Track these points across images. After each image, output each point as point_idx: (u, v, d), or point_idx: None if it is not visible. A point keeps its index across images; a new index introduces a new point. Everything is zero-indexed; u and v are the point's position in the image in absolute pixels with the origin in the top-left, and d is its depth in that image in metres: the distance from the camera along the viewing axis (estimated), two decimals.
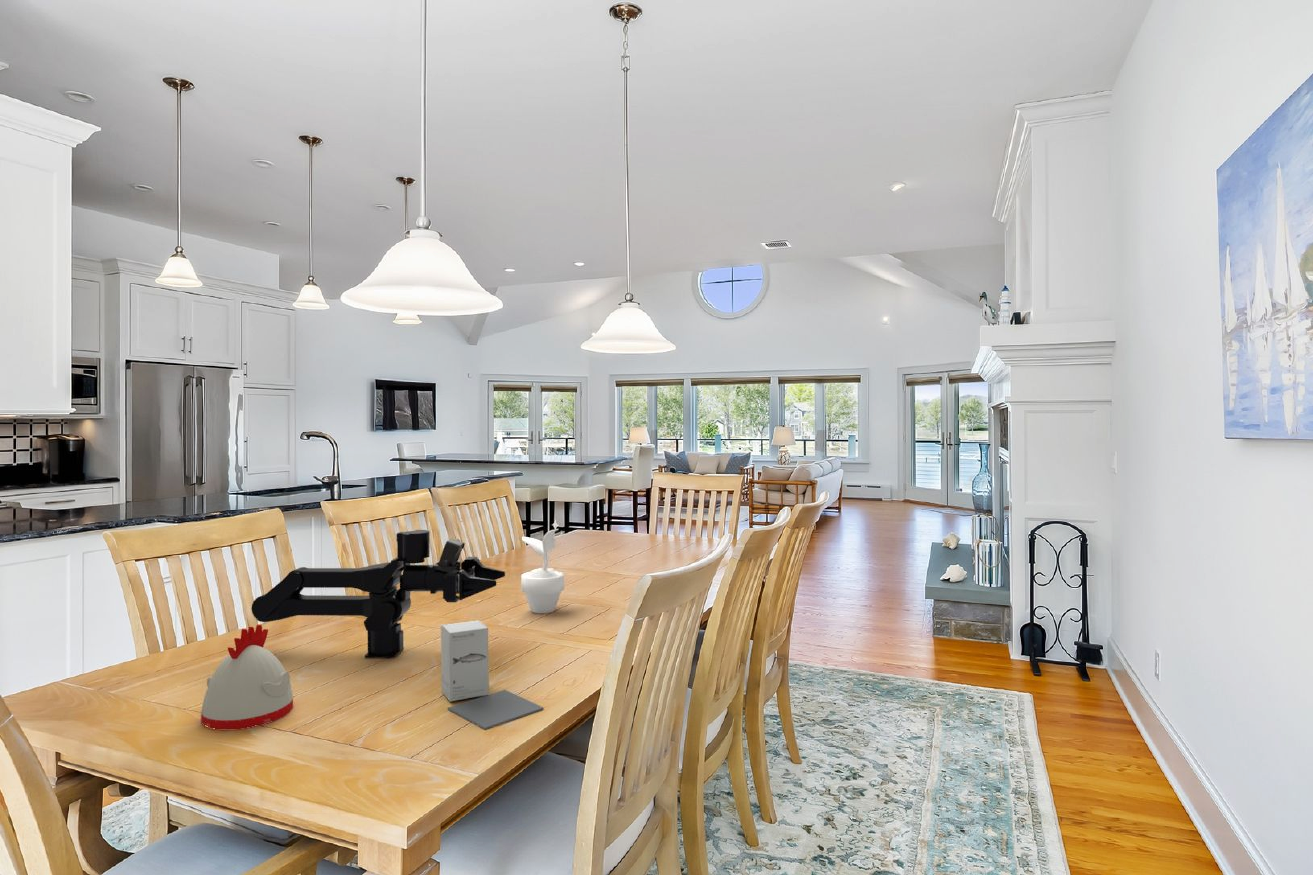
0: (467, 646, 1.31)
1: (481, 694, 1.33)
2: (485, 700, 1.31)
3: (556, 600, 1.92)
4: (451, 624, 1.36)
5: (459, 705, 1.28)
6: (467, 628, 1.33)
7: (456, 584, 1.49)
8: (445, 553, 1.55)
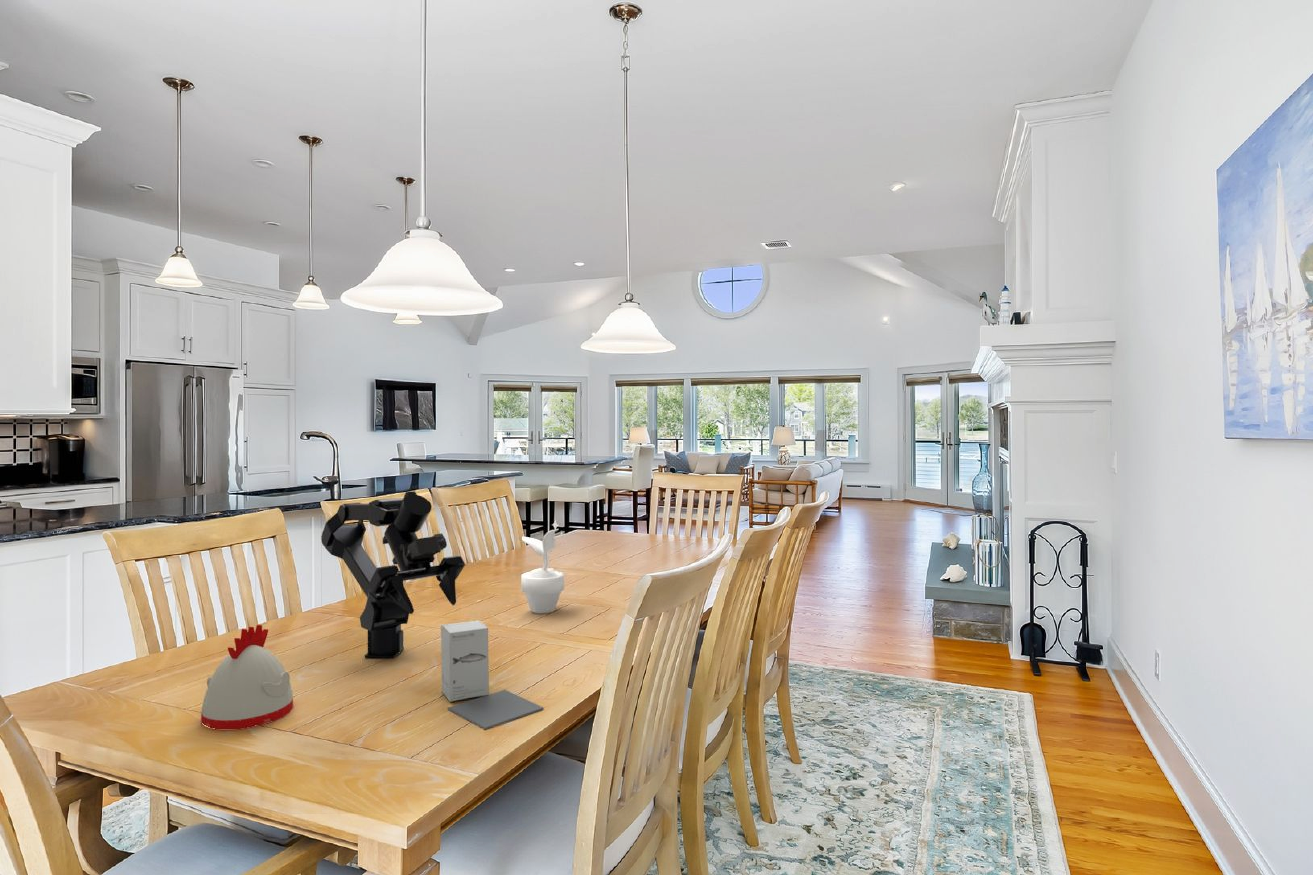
0: (467, 646, 1.31)
1: (481, 694, 1.33)
2: (485, 700, 1.31)
3: (556, 600, 1.92)
4: (451, 624, 1.36)
5: (459, 705, 1.28)
6: (467, 628, 1.33)
7: (380, 583, 1.40)
8: (412, 546, 1.44)
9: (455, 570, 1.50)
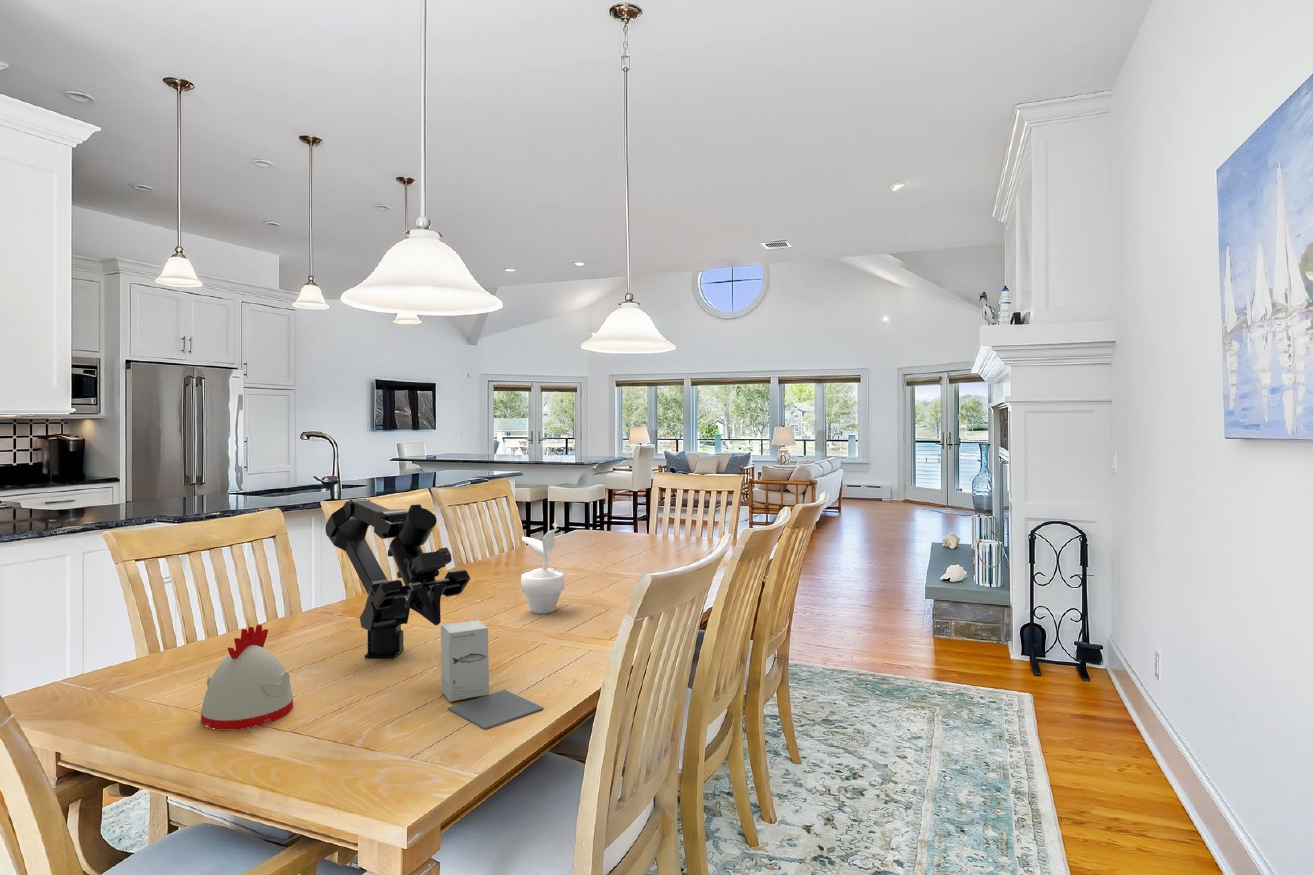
0: (467, 646, 1.31)
1: (481, 694, 1.33)
2: (485, 700, 1.31)
3: (556, 600, 1.92)
4: (451, 624, 1.36)
5: (459, 705, 1.28)
6: (467, 628, 1.33)
7: (384, 598, 1.39)
8: (416, 560, 1.42)
9: (440, 588, 1.45)
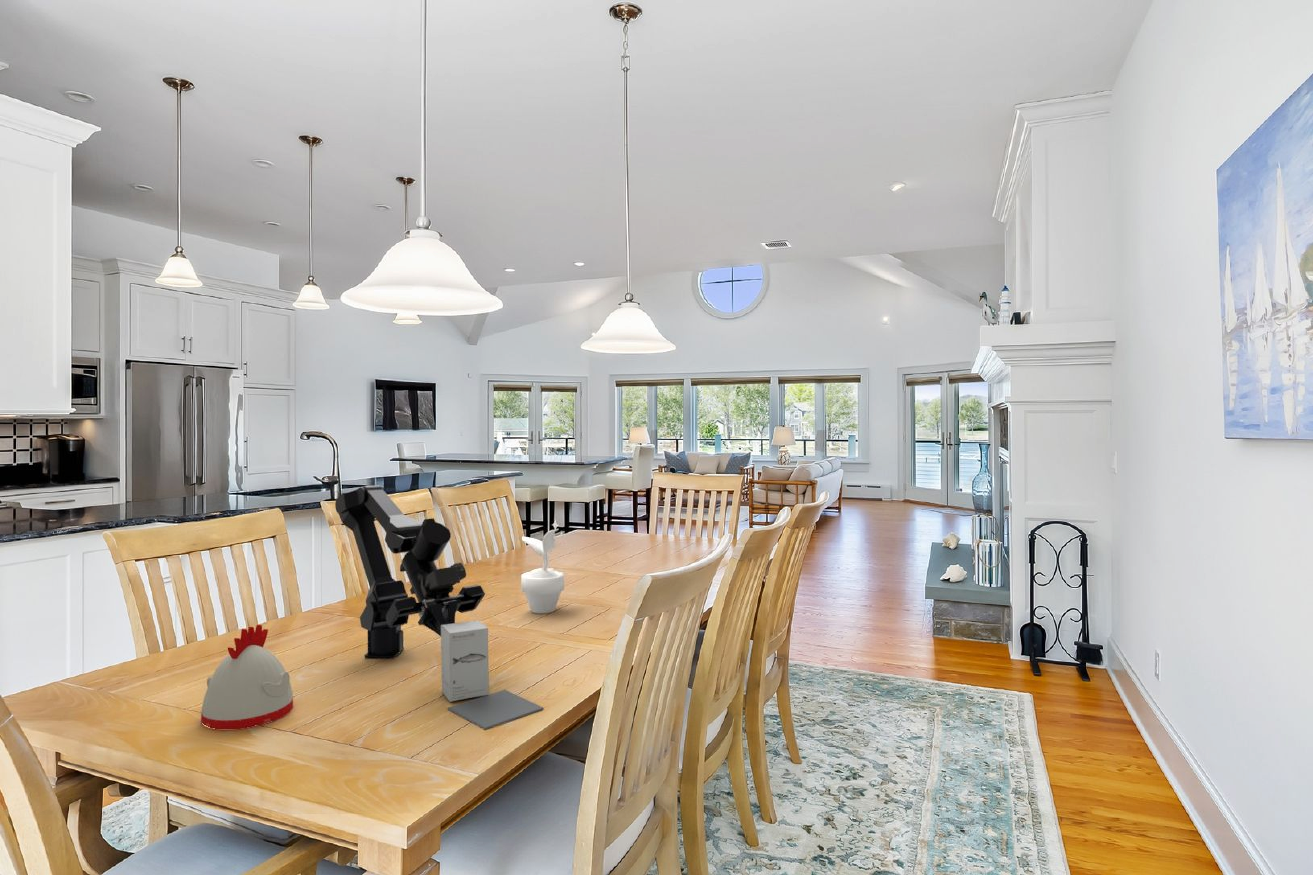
0: (467, 646, 1.31)
1: (481, 694, 1.33)
2: (485, 700, 1.31)
3: (556, 600, 1.92)
4: (451, 624, 1.36)
5: (459, 705, 1.28)
6: (467, 628, 1.32)
7: (398, 616, 1.35)
8: (430, 576, 1.38)
9: (455, 604, 1.41)
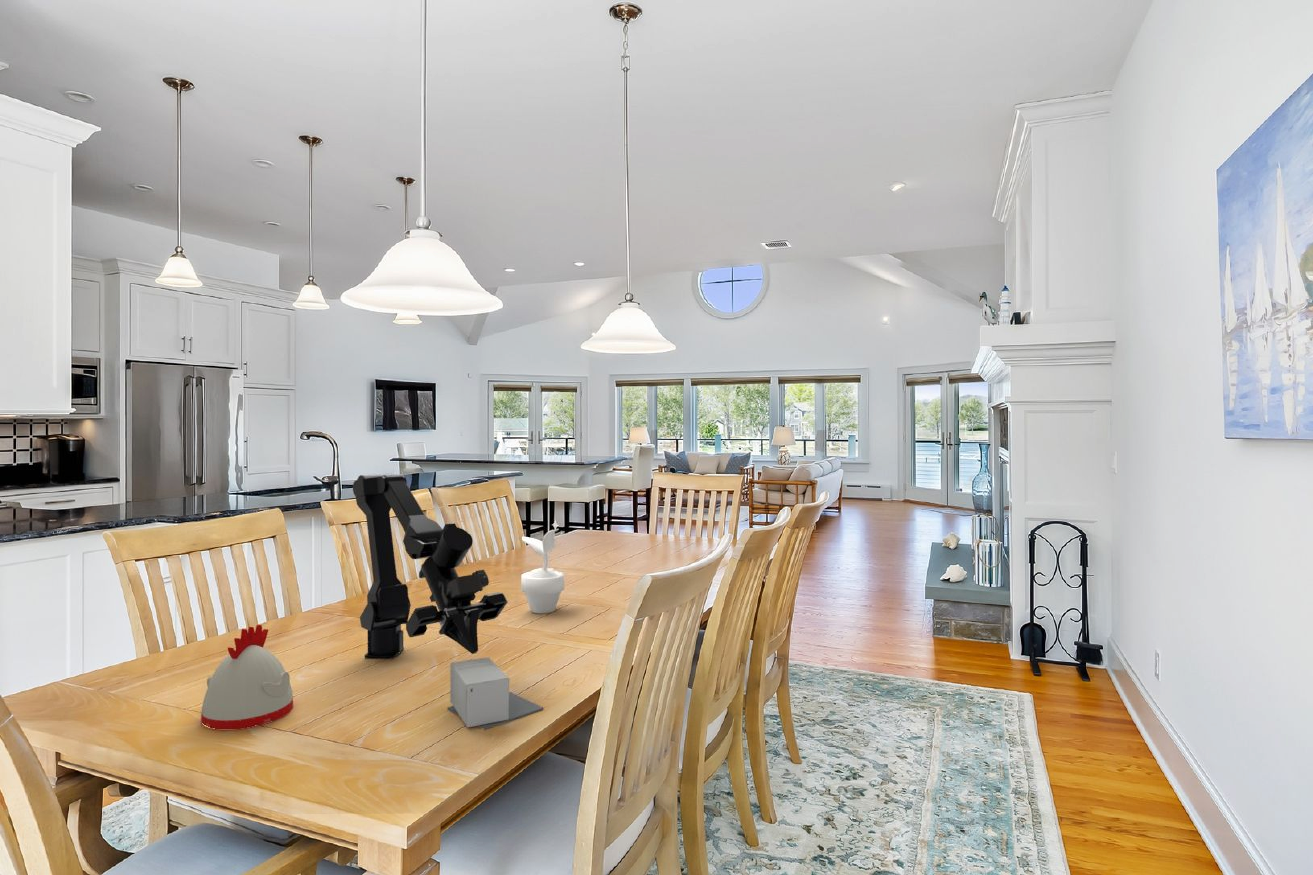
0: None
1: None
2: None
3: (556, 600, 1.92)
4: (476, 690, 1.19)
5: None
6: (488, 716, 1.20)
7: (418, 626, 1.29)
8: (452, 584, 1.33)
9: (477, 613, 1.35)
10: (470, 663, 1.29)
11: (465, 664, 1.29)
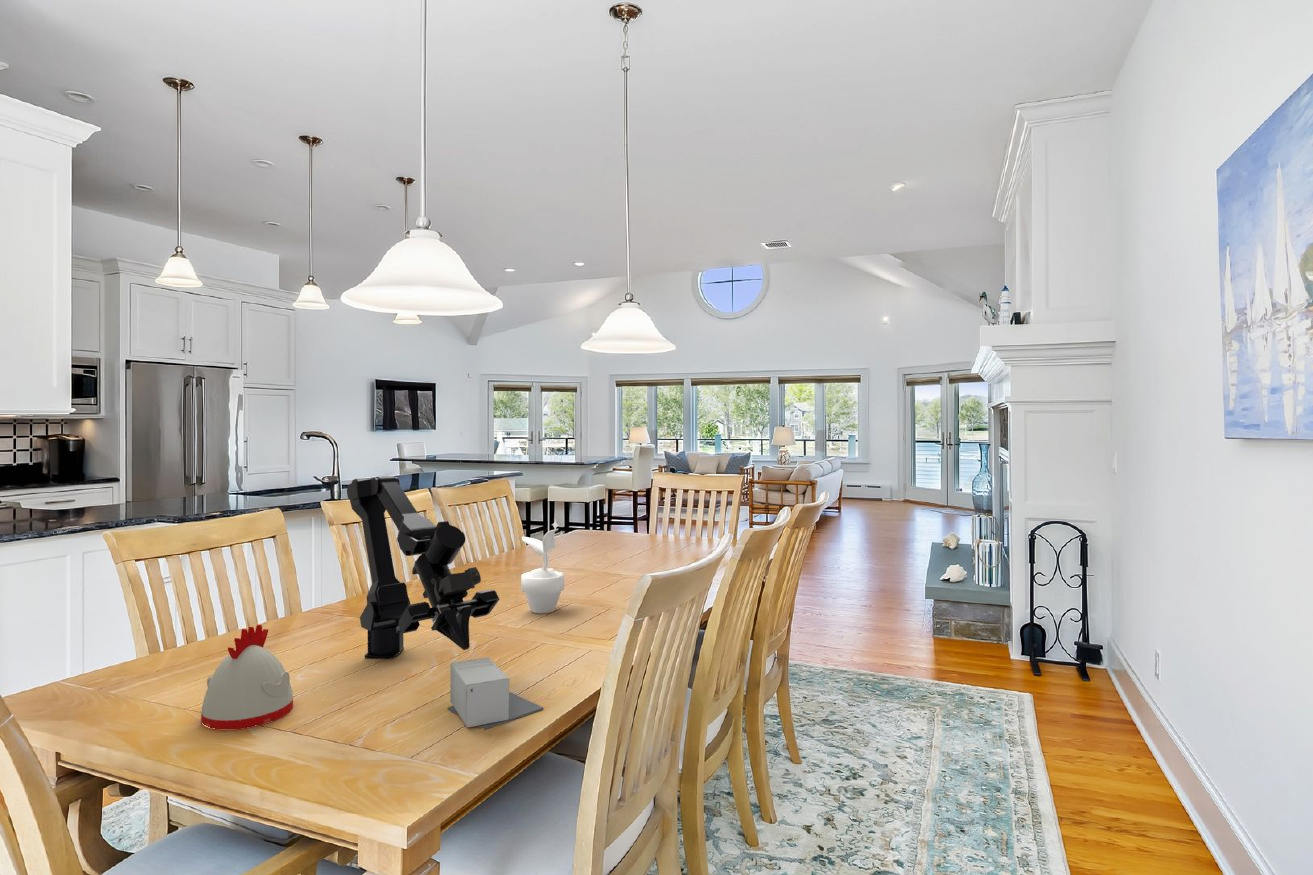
0: None
1: None
2: None
3: (556, 600, 1.92)
4: (477, 690, 1.19)
5: None
6: (488, 716, 1.20)
7: (411, 622, 1.31)
8: (444, 581, 1.35)
9: (469, 610, 1.37)
10: (470, 663, 1.29)
11: (465, 664, 1.29)
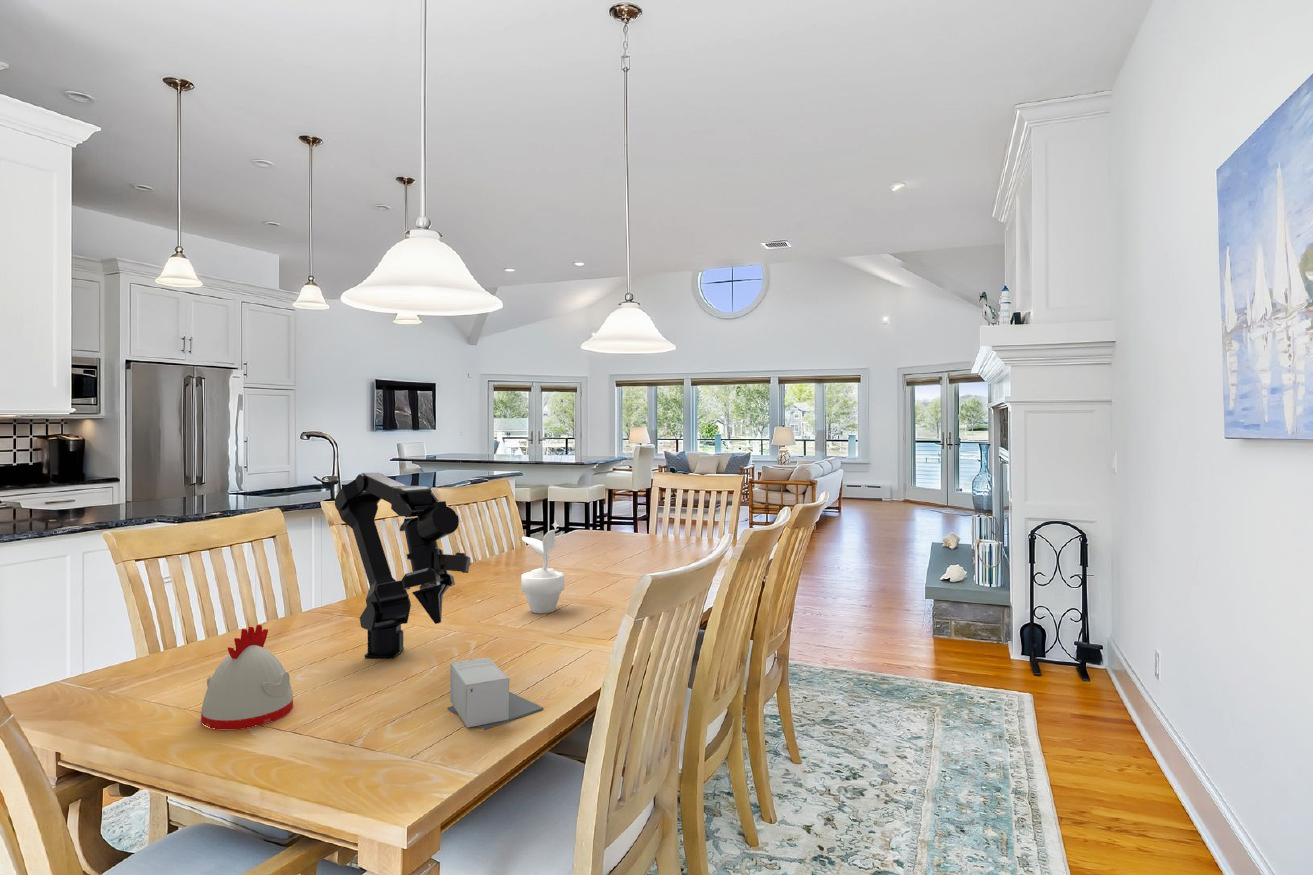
0: None
1: None
2: None
3: (556, 600, 1.92)
4: (476, 690, 1.19)
5: None
6: (488, 716, 1.20)
7: (422, 584, 1.37)
8: (453, 558, 1.44)
9: (446, 589, 1.47)
10: (470, 663, 1.29)
11: (465, 664, 1.29)
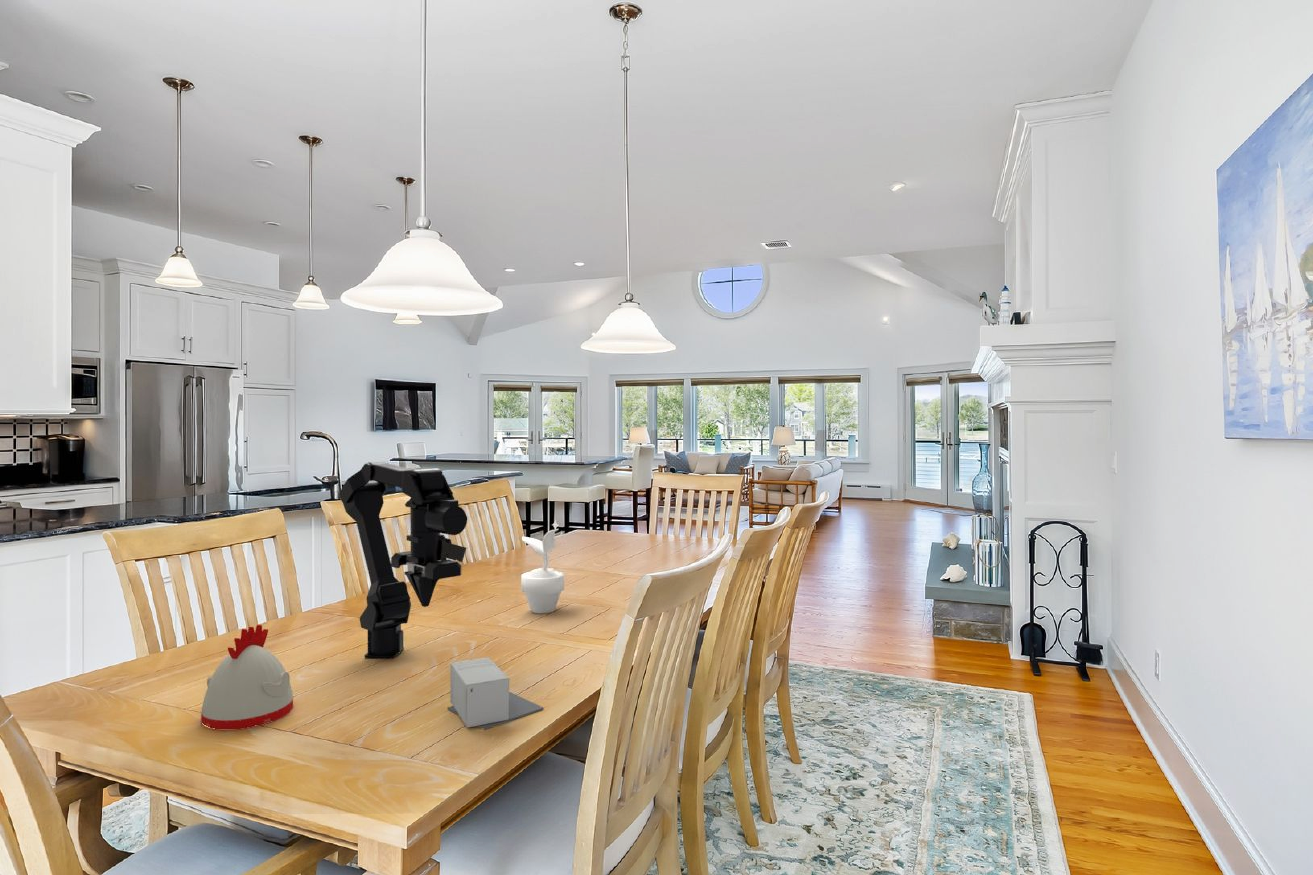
0: None
1: None
2: None
3: (556, 600, 1.92)
4: (476, 690, 1.19)
5: None
6: (488, 716, 1.20)
7: None
8: (457, 548, 1.50)
9: None
10: (470, 663, 1.29)
11: (465, 664, 1.29)
